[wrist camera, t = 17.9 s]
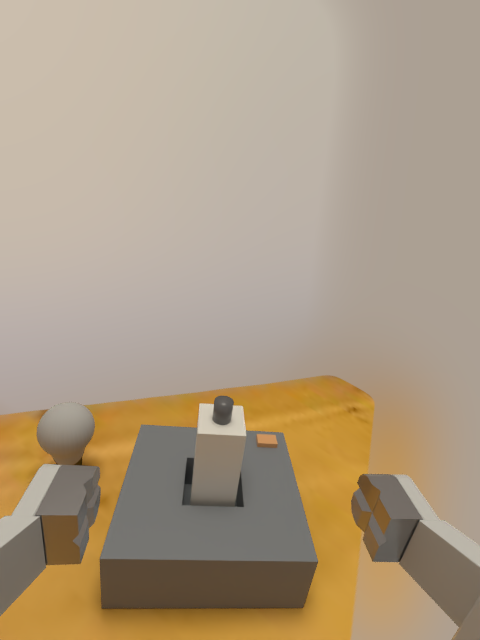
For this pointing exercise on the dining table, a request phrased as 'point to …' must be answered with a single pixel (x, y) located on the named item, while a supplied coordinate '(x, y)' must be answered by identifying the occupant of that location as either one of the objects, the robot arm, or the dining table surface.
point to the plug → (218, 453)
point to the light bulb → (66, 432)
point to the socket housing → (207, 531)
